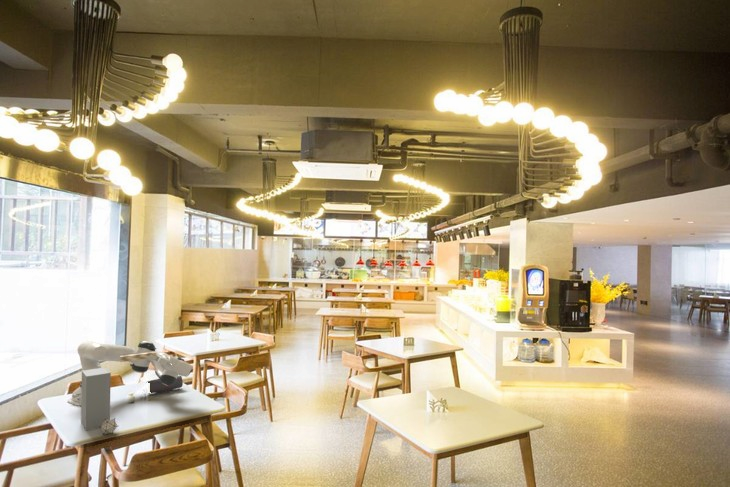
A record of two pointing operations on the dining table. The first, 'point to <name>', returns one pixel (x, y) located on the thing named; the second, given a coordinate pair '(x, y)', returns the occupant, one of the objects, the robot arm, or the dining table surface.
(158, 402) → the dining table surface
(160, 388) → the bluetooth speaker
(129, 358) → the wooden bar
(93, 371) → the stand
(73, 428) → the dining table surface
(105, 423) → the dark-edged faceted part
